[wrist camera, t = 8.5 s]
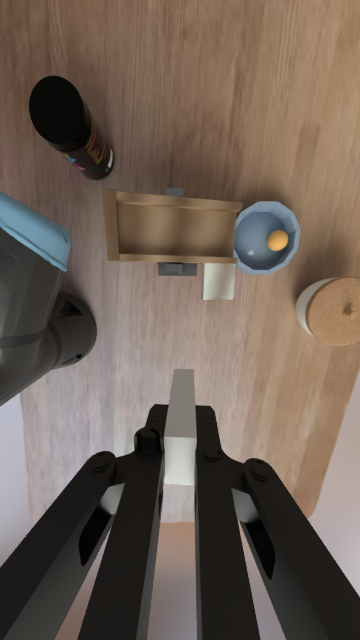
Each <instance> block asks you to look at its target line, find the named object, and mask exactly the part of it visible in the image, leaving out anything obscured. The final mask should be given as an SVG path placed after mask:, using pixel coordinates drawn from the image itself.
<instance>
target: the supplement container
mask: <svg viewBox="0 0 360 640" xmlns="http://www.w3.org/2000/svg"><path fill="white" fill-rule="evenodd" d="M29 112H30V117H31V120H32V123H33V125H34V127H35V129H36V130H37V132H38V133H39V134H40V135H41V136H42V137H43V138H44V139H45V140H46V141H47V142H48V143H49V144H50V145H51V146H52V147H54V148H55V149H56V150H57V151H58V152H59V153H60V154H61V155H63V156H64V157H65V158H66V159H67V160H68V161H69V162H70V163H71V164H72V165H73V166H74V167H76V168H77V169H78V170H79V171H80V172H81V173H82V174H83V175H84V176H86V177H87V178H89V179H92V180H101V179H104V178H105V177H107V176H108V175H109V174H110V172H111V171H112V169H113V166H114V152H113V149H112V147H111V145H110V143H109V142H108V140H107V138H106V137H105V135H104V133H103V132H102V130H101V129H100V127H99V125H98V124H97V122H96V120H95V119H94V117H93V116H92V114H91V112H90V111H89V109H88V107H87V105H86V103H85V102H84V100H83V99H82V97H81V96H80V94H79V92H78V91H77V89H76V88H75V87H74V86H73V85H72V84H71V83H70V82H69V81H68V80H66V79H64V78H62V77H59V76H48V77H45V78H43V79H42V80H40V81H39V82H38V83H37V84H36V85H35V87H34V88H33V90H32V92H31V96H30V100H29Z"/></svg>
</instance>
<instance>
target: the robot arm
mask: <svg viewBox="0 0 360 640" xmlns="http://www.w3.org/2000/svg"><path fill="white" fill-rule="evenodd" d="M70 249H71V238H70V236H69V234H68V232H67V231H66V230H65V229H64V228H63V227H62V226H60V225H59V224H57V223H55V222H54V221H52V220H50V219H48V218H47V217H45V216H43V215H41V214H40V213H38V212H36V211H34V210H33V209H31V208H29V207H27V206H26V205H24V204H22V203H20V202H18V201H17V200H15V199H13V198H12V197H10V196H8V195H6V194H4V193H3V192H1V191H0V406H1V405H3V404H4V403H6V402H7V401H8V400H10V399H11V398H13V397H14V396H15V395H17V394H18V393H20V392H21V391H22V390H24V389H25V388H27V387H28V386H29V385H31V384H32V383H34V382H35V381H36V380H38V379H39V378H41V377H42V376H43V375H45V374H46V373H48V372H49V371H50V370H53V369H57V368H62V367H66V366H70V365H72V364H75V363H77V362H78V361H80V360H81V359H82V358H84V357H85V356H86V355H87V354H88V353H89V352H90V351H91V350H92V348H93V346H94V344H95V341H96V333H97V332H96V324H95V321H94V318H93V316H92V314H91V312H90V311H89V309H88V308H87V307H86V306H85V305H84V304H83V303H82V302H81V301H80V300H78V299H77V298H75V297H73V296H71V295H69V294H66V293H62V292H59V289H60V286H61V283H62V279H63V276H64V273H65V272H67V267H66V265H67V261H68V256H69V253H70ZM134 448H135V451H133V452H132V453H130V454H128V455H125V456H121V457H117V458H116V457H115V455H114V454H113V453H111V452H109V451H102V452H98V453H96V454H95V455H93V456H92V457H91V458H89V459H88V460H87V462H86V463H85V464H84V465H83V467H82V468H81V469H80V470H79V471H78V473H77V474H76V475H75V476H74V478H73V479H72V480H71V481H70V483H69V484H68V485H67V486H66V487H65V489H64V490H63V491H62V492H61V494H60V495H59V496H58V497H57V499H56V500H55V501H54V502H53V503H52V505H51V506H50V507H49V508H48V510H47V511H46V512H45V513H44V515H43V516H42V517H41V518H40V519H39V521H38V522H37V523H36V524H35V526H34V527H33V528H32V529H31V531H30V532H29V533H28V534H27V535H26V537H25V538H24V539H23V541H22V542H21V543H20V544H19V545H18V547H17V548H16V549H15V550H14V552H13V553H12V554H11V555H10V556H9V558H8V559H7V560H6V561H5V563H4V564H3V565H2V566H1V567H0V640H54V639H55V637H56V635H57V633H58V631H59V629H60V627H61V625H62V623H63V621H64V619H65V617H66V615H67V613H68V611H69V609H70V607H71V605H72V603H73V601H74V599H75V597H76V595H77V593H78V592H79V590H80V587H81V586H82V584H83V582H84V580H85V578H86V576H87V574H88V571H89V570H90V567H91V566H92V564H93V562H94V560H95V558H96V556H97V554H98V552H99V550H100V548H101V546H102V544H103V542H104V540H105V538H106V536H107V534H108V532H109V530H110V528H111V531H110V534H109V537H108V541H107V544H106V547H105V551H104V554H103V557H102V560H101V564H100V567H99V570H98V573H97V577H96V580H95V583H94V587H93V590H92V593H91V597H90V600H89V603H88V606H87V610H86V613H85V616H84V619H83V623H82V626H81V629H80V633H79V636H78V640H147V632H148V624H149V615H150V607H151V598H152V589H153V580H154V572H155V563H156V554H157V545H158V537H159V528H160V520H161V511H162V502H163V485H164V483H167V484H184V485H195V494H194V511H195V552H196V553H195V557H196V606H197V607H196V609H197V640H260V635H259V630H258V624H257V619H256V614H255V609H254V604H253V598H252V593H251V588H250V583H249V578H248V573H247V567H246V563H245V557H244V552H243V546H242V541H241V536H240V531H239V525H238V520H239V521H240V524H241V526H242V529H243V532H244V534H245V536H246V539H247V542H248V544H249V547H250V549H251V552H252V554H253V557H254V559H255V562H256V564H257V567H258V570H259V572H260V575H261V577H262V580H263V582H264V585H265V587H266V590H267V592H268V595H269V597H270V600H271V602H272V605H273V607H274V610H275V612H276V615H277V617H278V620H279V622H280V625H281V627H282V630H283V632H284V635H285V638H286V640H360V597H359V595H358V594H357V592H356V591H355V589H354V588H353V586H352V585H351V584H350V582H349V581H348V579H347V578H346V576H345V575H344V573H343V572H342V570H341V569H340V567H339V566H338V564H337V563H336V561H335V560H334V558H333V557H332V555H331V554H330V552H329V551H328V549H327V548H326V546H325V545H324V544H323V542H322V540H321V539H320V538H319V536H318V535H317V533H316V532H315V530H314V529H313V527H312V526H311V524H310V523H309V521H308V520H307V518H306V517H305V515H304V514H303V512H302V511H301V509H300V508H299V506H298V505H297V503H296V502H295V500H294V499H293V497H292V496H291V494H290V493H289V492H288V490H287V489H286V487H285V486H284V484H283V483H282V481H281V480H280V478H279V477H278V475H277V474H276V472H275V471H274V469H273V468H272V467H271V466H270V465H269V464H268V463H266V462H265V461H263V460H260V459H257V458H251V459H248V460H246V462H245V463H241V462H238V461H235V460H233V459H231V458H230V457H228V456H227V455H226V454H225V453H224V451H223V450H222V448H221V444H220V438H219V433H218V427H217V422H216V416H215V412H214V410H213V409H212V408H211V406H199V405H195V388H194V370H192V369H174V375H173V381H172V388H171V394H170V400H169V405H163V404H154V406H153V407H152V408H151V409H150V411H149V415H148V418H147V422H146V425H145V427H144V428H141V429H140V430H138V431H137V432H136V434H135V435H134ZM237 519H238V520H237ZM111 526H112V527H111Z"/></svg>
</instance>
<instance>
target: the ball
mask: <svg viewBox="0 0 360 640" xmlns="http://www.w3.org/2000/svg"><path fill="white" fill-rule="evenodd" d="M287 242H288V235H287V234H286V233H285V232H284V231H282V230H277V231H274V232H272V233H271V234H270V235H269V237H268V239H267V245H268V247H269V248H270V249H271V250H273V251H278V250H281V249H283V248H284V247H285V246H286V245H287Z"/></svg>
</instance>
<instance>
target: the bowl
mask: <svg viewBox="0 0 360 640" xmlns="http://www.w3.org/2000/svg"><path fill="white" fill-rule="evenodd" d="M277 230H282V231H284V232H285V233H286V234H287V235H288V242H287V245H286V246H285V247H284V248H283V249H281V250H278V251H273V250H271V249H270V248H269V247H268V245H267V239H268V237H269V235H270V234H271V233H272V232H274V231H277ZM299 237H300V227H299V225H298V222H297V220H296V217H295V215H294V212H293V211H291V210H290V209H288V208H287V207H285V206H284V205H282V204H281V203H279V202H257V203H255V204H254V205H252V206H250V207H249V208H247V209H245V210H244V211H242V212H241V213H240V214H239V215H238V216H237V218H236V226H235V240H234V254H233V258H238V263H236V268H237V269H239V270H241V271H242V272H244V273H245V274H271V273H273V272H275V271H277V270H279V269H281V268H282V267H284V266H286V265H287V264H288V262H289V261H290V260H291V258H292V257H293V255H294V254H295V252H296V251H297V250H298V244H299Z"/></svg>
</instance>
